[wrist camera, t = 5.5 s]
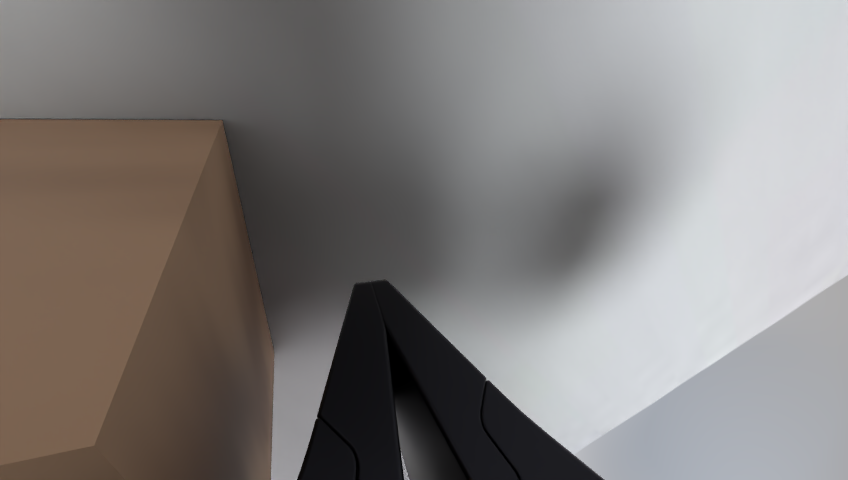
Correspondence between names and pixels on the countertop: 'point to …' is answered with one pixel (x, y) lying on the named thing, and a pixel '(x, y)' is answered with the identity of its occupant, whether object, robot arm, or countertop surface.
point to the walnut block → (128, 306)
